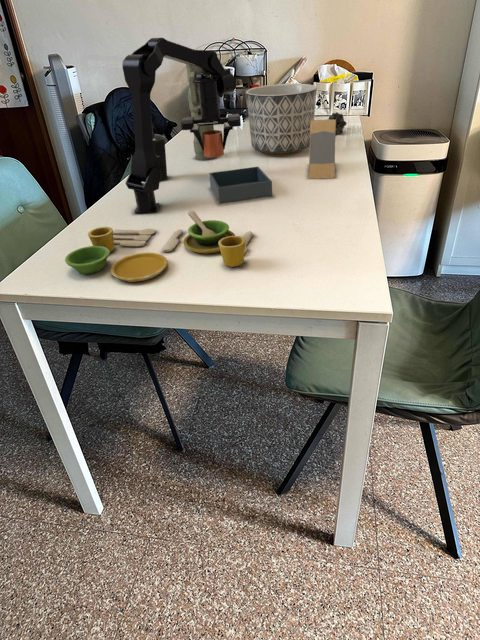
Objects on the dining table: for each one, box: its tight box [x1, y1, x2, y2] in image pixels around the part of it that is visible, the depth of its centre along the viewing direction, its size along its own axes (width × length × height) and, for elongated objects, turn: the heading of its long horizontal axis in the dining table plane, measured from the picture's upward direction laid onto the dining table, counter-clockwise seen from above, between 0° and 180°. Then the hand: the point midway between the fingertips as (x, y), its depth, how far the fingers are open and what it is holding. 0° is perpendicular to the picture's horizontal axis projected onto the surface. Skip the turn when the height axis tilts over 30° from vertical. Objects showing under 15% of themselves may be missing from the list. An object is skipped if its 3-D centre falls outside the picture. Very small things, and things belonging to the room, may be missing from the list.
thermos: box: [185, 64, 217, 161], centre depth 167 cm, size 9×12×35 cm
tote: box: [208, 166, 273, 205], centre depth 139 cm, size 16×16×5 cm
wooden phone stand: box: [308, 119, 337, 179], centre depth 148 cm, size 9×15×15 cm, turn 172°
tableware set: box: [64, 209, 254, 283], centre depth 106 cm, size 41×28×6 cm
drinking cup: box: [152, 124, 168, 182], centre depth 152 cm, size 8×8×20 cm
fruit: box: [327, 112, 348, 135], centre depth 194 cm, size 9×8×15 cm
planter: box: [245, 83, 318, 157], centre depth 171 cm, size 26×26×22 cm
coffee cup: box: [202, 129, 225, 158], centre depth 146 cm, size 6×6×7 cm
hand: (213, 150), depth 147 cm, fingers closed on coffee cup, 6 cm apart
